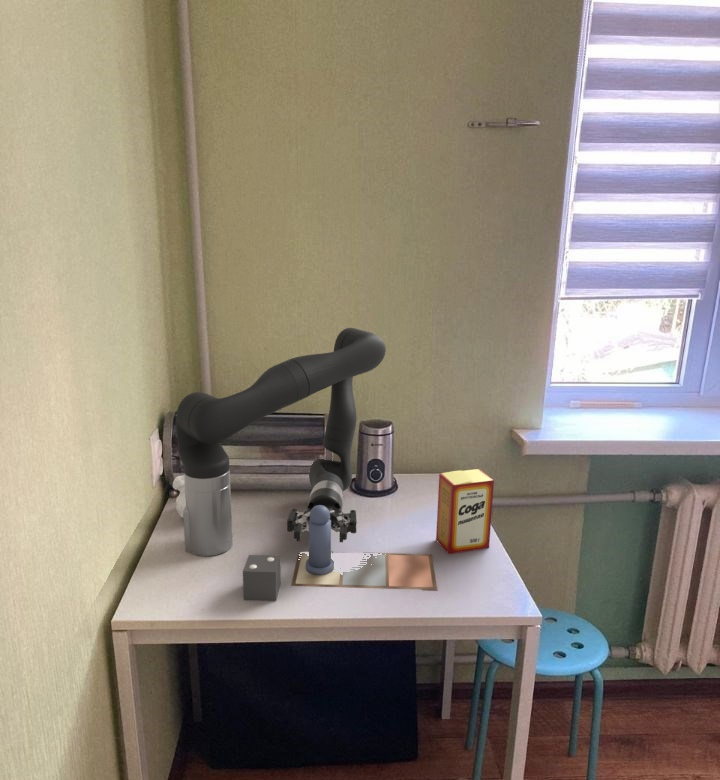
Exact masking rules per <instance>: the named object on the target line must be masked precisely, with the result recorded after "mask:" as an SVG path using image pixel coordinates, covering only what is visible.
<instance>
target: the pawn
mask: <svg viewBox="0 0 720 780" xmlns="http://www.w3.org/2000/svg"><path fill="white" fill-rule="evenodd" d="M308 551H309V559H308V560H307V561H306V571H307V572H308V573H310V574H313V575H326V574H329V573H331V572H332V571H333V569H334V561H333V560H332V559H331V552H332V529H331V520H330V512H329V510H328V509H327V508H326V507H325V506H322V505H317V506H315V507H313V508H312V510H311V511H310V520H309V531H308Z"/></svg>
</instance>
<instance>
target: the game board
mask: <svg viewBox="0 0 720 780" xmlns="http://www.w3.org/2000/svg"><path fill="white" fill-rule="evenodd" d="M377 553H378V554H380V553H382V555H377V556H373V554H370V555H371V557H370V558H369V559H367V561H360V562H367V564H366V563H360V564H366V565H358V566H363V567H362V568H361V567H352V568H360V569H358V570H355V569H350V570H353V571H350V572H343V575H341V574H340V572H334V571H332V572H331V573H329V574H326V575H313V574H310V573H308V572H307V571H306V561H307V560H308V559H309V556H307V554H305V553H302V554H300V553H297V558H296V562H295V567H294V570H293V574H292V578H291V579H292V580H291V582H290V587H313V588H315V587H317V588H319V587H320V588H347V589H348V588H350V589H351V588H352V589H355V588H356V589H362V588H363V589H383V590H384V589H388V590H389V589H391V590H418V591H420V590H421V591H438V585H437V580H436V579H437V578H436V572H435V566H434V560H433V554H431V553H401V552H400V553H399V552H397V553H396V552H393V553H392V552H377ZM298 554H300V555H302V556H299V555H298ZM385 554H386V555H385ZM364 555H366V554H364ZM299 557H301V558H299ZM367 557H369V556H367ZM375 557H377V558H375ZM363 558H364V557H363ZM298 559H300V560H298ZM362 560H366V559H362ZM371 564H372V565H371ZM340 569H341V568H340ZM333 570H335V569H333Z"/></svg>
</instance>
